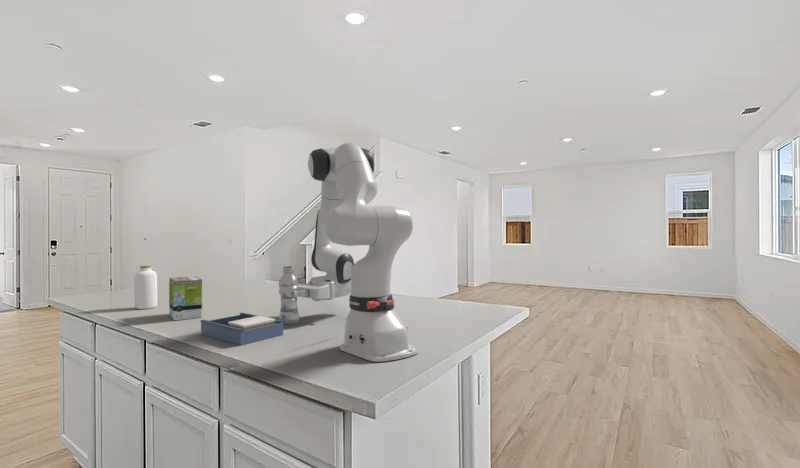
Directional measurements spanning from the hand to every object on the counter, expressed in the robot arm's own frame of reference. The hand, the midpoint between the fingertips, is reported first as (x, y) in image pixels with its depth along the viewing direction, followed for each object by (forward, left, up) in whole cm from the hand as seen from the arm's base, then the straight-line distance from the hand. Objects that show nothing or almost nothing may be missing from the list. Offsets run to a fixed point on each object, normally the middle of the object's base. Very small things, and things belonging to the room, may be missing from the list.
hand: (286, 293), depth 142 cm
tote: (-8, +16, -11) cm, 21 cm away
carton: (-13, +14, -10) cm, 22 cm away
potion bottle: (+67, +41, -11) cm, 80 cm away
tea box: (+38, +28, -11) cm, 49 cm away
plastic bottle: (0, -1, -11) cm, 11 cm away
